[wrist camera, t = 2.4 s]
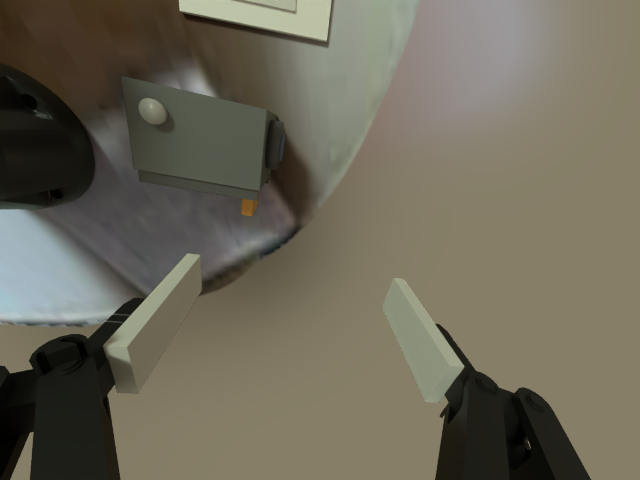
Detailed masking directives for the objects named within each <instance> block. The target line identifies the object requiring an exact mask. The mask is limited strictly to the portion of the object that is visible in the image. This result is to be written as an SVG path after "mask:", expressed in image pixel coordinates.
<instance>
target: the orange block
mask: <svg viewBox="0 0 640 480" xmlns="http://www.w3.org/2000/svg"><path fill="white" fill-rule="evenodd" d="M258 196H259V191H258ZM257 206H258V200H257V201H254V200H248V199H242V211H241V215H247V216H252V215H253V213H254V211H255V210H256V208H257Z"/></svg>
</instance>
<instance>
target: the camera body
mask: <svg viewBox="0 0 640 480" xmlns="http://www.w3.org/2000/svg"><path fill="white" fill-rule="evenodd" d="M121 80H122V87H123V94H124V101H125V108H126V115H127V122H128V129H129V136H130V143H131V150H132V157H133V165H134V169H137V170H138V172H139V180H140V181H141V182H147V183H153V184H159V185H165V186H171V187H177V188H183V189H189V190H195V191H201V192H207V193H212V194H218V195H224V196H230V197H236V198H242V199H248V200H254V201H257V200H258V191H260V190H261V188H262V187H263V185H264V184H265V183H268V180H269V176H270V175H271V169H273V170H278V168H279V163H280V161H282V157H283V151H284V143H285V133H283V131H284V123H283V122H280V121H276V119H277V116H276V115H275V114H273V113H271V112H270V111H268V110H266V109H262V108H258V107H253V106H249V105H245V104H240V103H236V102H232V101H227V100H223V99H219V98H214V97H210V96H206V95H202V94H197V93H193V92H189V91H184V90H180V89H176V88H171V87H167V86H163V85H159V84H154V83H150V82H146V81H141V80H137V79H133V78H128V77H124V76H121Z"/></svg>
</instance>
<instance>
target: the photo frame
mask: <svg viewBox="0 0 640 480" xmlns="http://www.w3.org/2000/svg"><path fill="white" fill-rule="evenodd" d="M179 6H180V11H181V12H182V13H184V14H189V15H194V16H199V17H204V18H209V19H214V20H219V21H224V22H228V23H233V24H238V25H243V26H248V27H253V28H258V29H263V30H268V31H273V32H278V33H283V34H287V35H292V36H297V37H302V38H307V39H312V40H317V41H322V42H327V35H328V26H329V17H330V9H331V0H179Z"/></svg>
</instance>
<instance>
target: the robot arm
mask: <svg viewBox="0 0 640 480" xmlns="http://www.w3.org/2000/svg"><path fill="white" fill-rule="evenodd" d="M93 175H94V157H93V152H92V148H91V145H90V143H89V140H88V138H87V136H86V134H85V132H84V130H83V128H82V127H81V125H80V123H79V122H78V120H77V119H76V117H75V116H74V115H73V114H72V112H71V111H70V110H69V109H68V108H67V106H66V105H65V104H64V103H63V102H62V101H61V100H60V99H59V98H58V97H57V96H56V95H54V94H53V93H52V92H51V91H50V90H49V89H47V88H46V87H45V86H43V85H42V84H41V83H39V82H38V81H36V80H35V79H33V78H32V77H30V76H28V75H26V74H25V73H23V72H21V71H19V70H17V69H14V68H12V67H10V66H7V65H4V64H1V63H0V209H42V208H49V207H53V206H57V205H60V204H63V203H66V202H70V201H72V200H75V199H76V198H78V197H80V196H81V195H82V194H83V193H84V192H85V191H86V190H87V189H88V187H89V186H90V184H91V181H92V179H93ZM201 291H202V279H201V255H197V254H189V253H187V254H186V255H185V257H184V258H183V259H182V260H181V261H180V262H179V263H178V264H177V265H176V266H175V267H174V269H173V270H172V271H171V272H170V273H169V274H168V275H167V276H166V277H165V278H164V279H163V281H162V282H161V283H160V284H159V285H158V286H157V287H156V288H155V289H154V290H153V291H152V293H151V294H150V295H149V296H148V297H147V298H146V299H143V298H134V299H132V300H130V301H128V302H127V303H125V304H123V305H122V306H121V307H120V308H119V309H118V310H117V311H116V312H115V313H114V315H112V316H111V317H110V318H109V319H108V320H107V322H105V323H104V324H103V325H102V326H101V327H100V328H99V329H98V330H97V331H96V332H95V333H93V335H91V336H90V337H89V338H88V339H87V338H86V336H84V335H80V334H70V335H66V336H61V337H58V338H56V339H53V340H51V341H49V342H47V343H46V344H44V345H42V346H41V347H39V348H38V349H37V350H36V351H35V352H34V353H33V354H32V356H31V358H30V360H29V362H30V363H31V365H32V367H33V369H32V370H27V371H22V372H16V373H11V374H10V373H9V371H8V370H7V369H6V367H5V366H0V480H10V478H11V476H12V474H13V471H14V469H15V467H16V464H17V462H18V459H19V457H20V455H21V452H22V450H23V448H24V445H25V442H26V440H27V438H28V436H29V433H30V432H34V435H33V448H32V461H31V474H30V480H120V473H119V467H118V460H117V453H116V446H115V440H114V433H113V426H112V420H111V414H110V407H109V400H108V397H107V394H108V393H109V391H110V390H111V389H112V387H113V386H114V385H115V387H116V390H117V393H132V394H135V393H136V394H138V393H139V392H140V390H141V389H142V387H143V385H144V384H145V382H146V380H147V379H148V377H149V375H150V374H151V372H152V371H153V369H154V367H155V366H156V364H157V362H158V361H159V359H160V358H161V356H162V354H163V353H164V351H165V349H166V348H167V346H168V345H169V343H170V341H171V340H172V338H173V336H174V335H175V333H176V331H177V330H178V328H179V327H180V325H181V323H182V322H183V320H184V319H185V317H186V315H187V314H188V312H189V310H190V309H191V307H192V306H193V304H194V302H195V301H196V299H197V297H198V296H199V294H200V293H201ZM382 308H383V311H384V313H385V315H386V317H387V319H388V322H389V324H390V326H391V328H392V330H393V332H394V335H395V337H396V339H397V341H398V343H399V345H400V347H401V350H402V352H403V354H404V356H405V359H406V361H407V363H408V365H409V367H410V369H411V372H412V374H413V376H414V378H415V380H416V382H417V385H418V387H419V389H420V391H421V393H422V396H423V397H424V400H425V402H433V403H440V401H441V400H442V398H443V397H444V395H445V396H446V398H447V400H448V402H449V403H448V404H447V406H446V407H445V408H444V410H443V411H442V413H441V414H440V417H441V418H442V417H443V416H444V415H445V417H444V424H443V431H442V438H441V445H440V452H439V458H438V465H437V471H436V478H435V480H591V479H590V477H589V475H588V473H587V472H586V470H585V468H584V466H583V465H582V462H581V461H580V459H579V457H578V455H577V453H576V451H575V450H574V448H573V446H572V444H571V442H570V441H569V439H568V437H567V435H566V433H565V431H564V430H563V428H562V426H561V424H560V422H559V420H558V419H557V417H556V415H555V413H554V412H553V410H552V408H551V407H550V406H549V404H548V403H547V402H546V401H545V400H544V399H543V398H542V397H541V396H539V395H538V394H536V393H535V392H533V391H531V390H529V389H527V388H519V389H518V390H517V391H516V392H515V393H512V392H510V391H507V390H504V389H501V388H499V387H498V386H497V384H496V383H495V382H494V381H493V380H492V379H491V378H489V377H488V376H486V375H485V374H483V373H481V372H477V371H476V370H475V369H474V368H473V366H472V365H471V363H470V362H469V361H468V359H467V358H466V356H465V355H464V354H463V352H462V351H461V350H460V348H459V347H458V346H457V344H456V343H455V342H454V341H453V339H452V337H451V336H450V334H449V333H448V332H447V331H446V330H445V329H444V328H443V327H442V326H441V325H439V324H435V323H434V322H433V320H432V319H431V318H430V316H429V315H428V313H427V312H426V310H425V309H424V307H423V306H422V305H421V303H420V302H419V300H418V299H417V297H416V296H415V295H414V293H413V292H412V290H411V289H410V287H409V286H408V285H407V283H406V281H405V280H404V279H398V278H394V279H393V282H392V284H391V287H390V289H389V292H388V294H387V297H386V299H385V302H384V304H383V307H382ZM528 441H529V443H530V446H531V449H530V447H529V444H528Z"/></svg>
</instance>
